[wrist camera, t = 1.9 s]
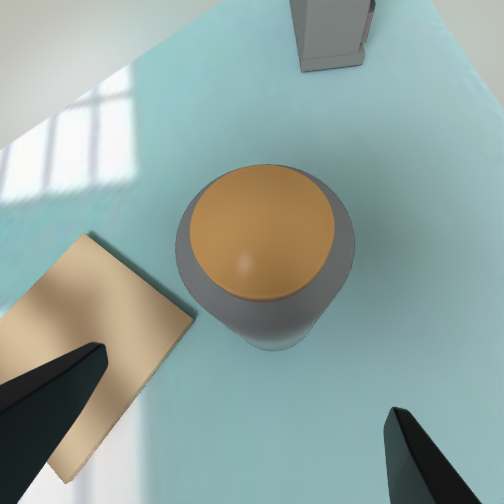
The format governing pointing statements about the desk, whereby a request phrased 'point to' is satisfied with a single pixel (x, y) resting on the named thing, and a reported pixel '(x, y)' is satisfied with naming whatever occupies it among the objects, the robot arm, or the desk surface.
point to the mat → (91, 338)
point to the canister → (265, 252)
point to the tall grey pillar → (331, 32)
